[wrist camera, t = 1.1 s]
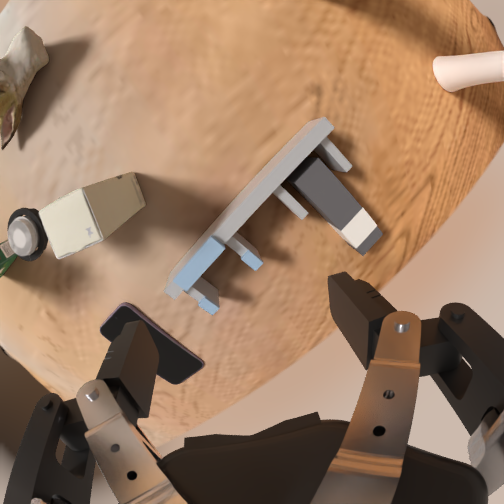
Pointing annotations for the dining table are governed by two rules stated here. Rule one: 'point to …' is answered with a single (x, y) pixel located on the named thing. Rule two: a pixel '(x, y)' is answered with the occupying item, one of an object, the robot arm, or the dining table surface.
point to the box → (91, 213)
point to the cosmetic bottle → (468, 69)
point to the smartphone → (170, 351)
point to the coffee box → (6, 256)
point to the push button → (27, 234)
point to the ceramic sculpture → (18, 78)
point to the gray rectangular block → (335, 204)
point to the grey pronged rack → (244, 206)
